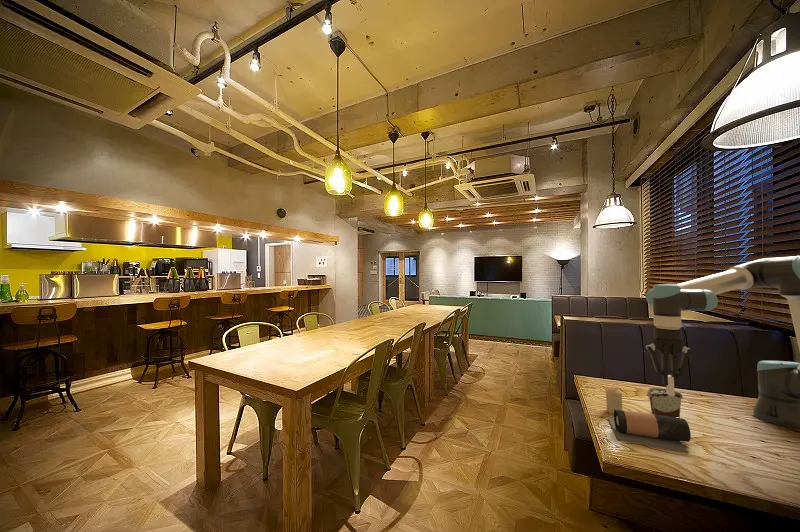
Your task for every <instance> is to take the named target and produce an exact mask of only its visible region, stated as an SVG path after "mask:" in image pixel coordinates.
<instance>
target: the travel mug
mask: <svg viewBox="0 0 800 532" xmlns="http://www.w3.org/2000/svg"><path fill="white" fill-rule="evenodd" d="M613 418H614V423H615V427H616V430H617V431H618V432H622V433H629V434H635V435H641V436H647V437H653V438H661V439H669V440H677V441H680V442H684V443H685V442H686V443H687V442H688V443H689V442H691V439H692V438H691V428H690V426H689V423H688V421H687V420H686V419H685V418H682V417H680V418H676V417H669V416H663V415H656V414H652V413H648V412H647V413H646V412H640V411H632V410H631V411H629V410H624V409H622V410H614V414H613Z"/></svg>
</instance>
